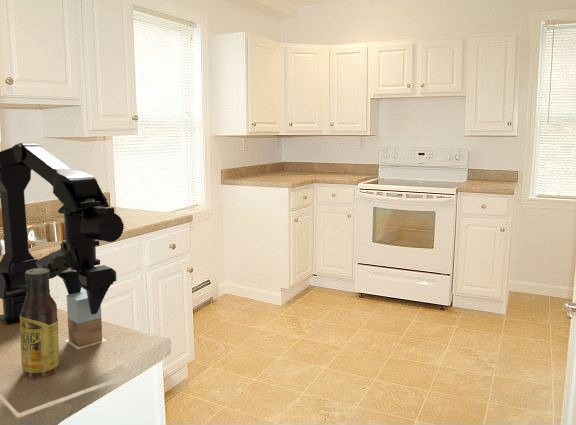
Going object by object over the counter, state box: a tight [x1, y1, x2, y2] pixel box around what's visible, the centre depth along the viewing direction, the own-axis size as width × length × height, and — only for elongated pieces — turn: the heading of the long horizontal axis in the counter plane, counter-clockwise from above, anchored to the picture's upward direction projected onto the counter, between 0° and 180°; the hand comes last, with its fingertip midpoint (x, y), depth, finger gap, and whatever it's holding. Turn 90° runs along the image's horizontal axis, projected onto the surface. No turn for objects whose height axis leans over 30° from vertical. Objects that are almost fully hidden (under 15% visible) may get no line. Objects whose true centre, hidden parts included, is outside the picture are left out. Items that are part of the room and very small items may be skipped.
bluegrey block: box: [66, 290, 102, 324], centre depth 106 cm, size 5×5×5 cm
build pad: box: [64, 337, 108, 350], centre depth 107 cm, size 10×10×1 cm
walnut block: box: [67, 317, 103, 347], centre depth 107 cm, size 5×5×5 cm
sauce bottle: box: [19, 268, 60, 379], centre depth 92 cm, size 7×6×20 cm
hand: (84, 308), depth 106 cm, fingers open, 9 cm apart
